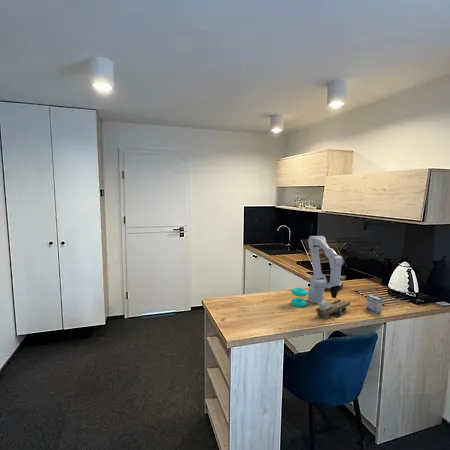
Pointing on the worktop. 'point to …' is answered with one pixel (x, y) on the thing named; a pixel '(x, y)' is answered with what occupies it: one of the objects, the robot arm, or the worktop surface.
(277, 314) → the worktop surface
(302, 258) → the worktop surface
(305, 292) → the donuts
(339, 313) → the pivot stand
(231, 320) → the worktop surface
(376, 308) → the medicine box
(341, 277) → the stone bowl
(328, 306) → the block
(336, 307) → the beam
